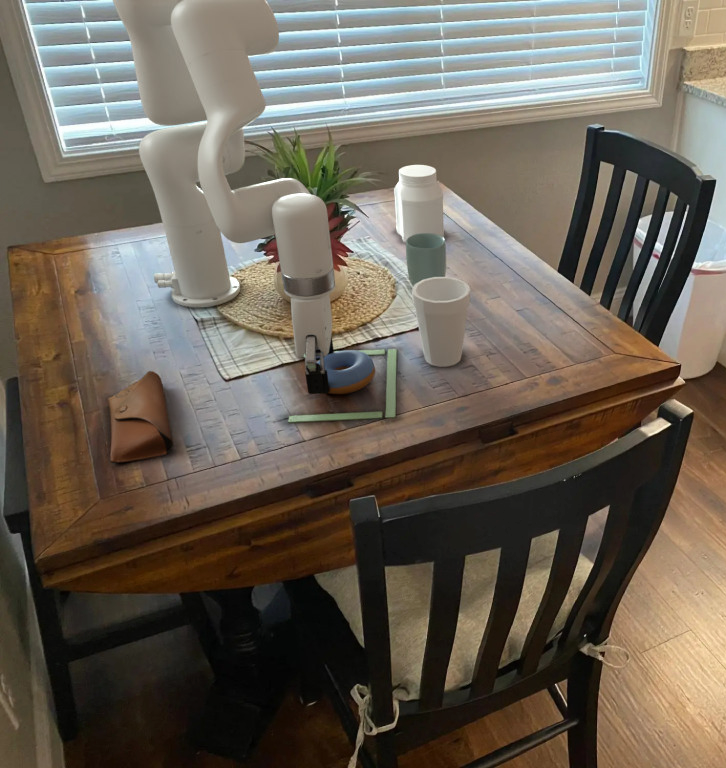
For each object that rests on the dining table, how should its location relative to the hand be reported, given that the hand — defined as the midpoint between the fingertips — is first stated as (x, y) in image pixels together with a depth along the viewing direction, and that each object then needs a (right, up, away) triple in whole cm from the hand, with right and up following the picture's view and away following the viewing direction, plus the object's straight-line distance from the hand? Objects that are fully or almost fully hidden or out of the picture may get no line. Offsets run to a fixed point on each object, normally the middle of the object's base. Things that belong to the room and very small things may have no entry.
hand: (321, 375), depth 121 cm
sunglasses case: (-25, -8, -9) cm, 27 cm away
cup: (+14, +18, +31) cm, 38 cm away
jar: (+9, +33, +53) cm, 63 cm away
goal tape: (+3, -1, +1) cm, 3 cm away
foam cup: (+19, +3, +9) cm, 21 cm away
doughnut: (+3, -1, +1) cm, 4 cm away
